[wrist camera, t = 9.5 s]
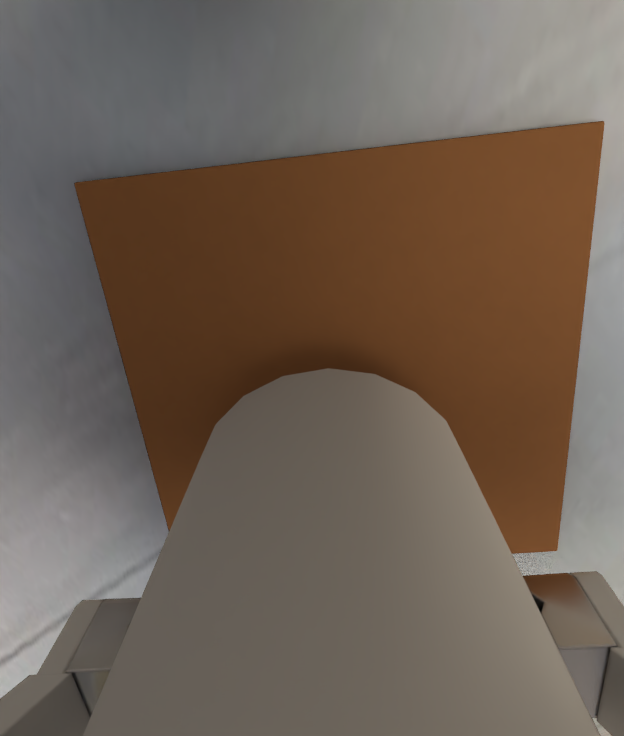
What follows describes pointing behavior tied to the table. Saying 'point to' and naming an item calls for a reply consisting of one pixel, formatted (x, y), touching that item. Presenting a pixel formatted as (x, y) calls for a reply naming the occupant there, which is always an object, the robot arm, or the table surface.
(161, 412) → the mat
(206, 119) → the table surface
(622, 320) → the table surface
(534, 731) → the can
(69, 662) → the robot arm
